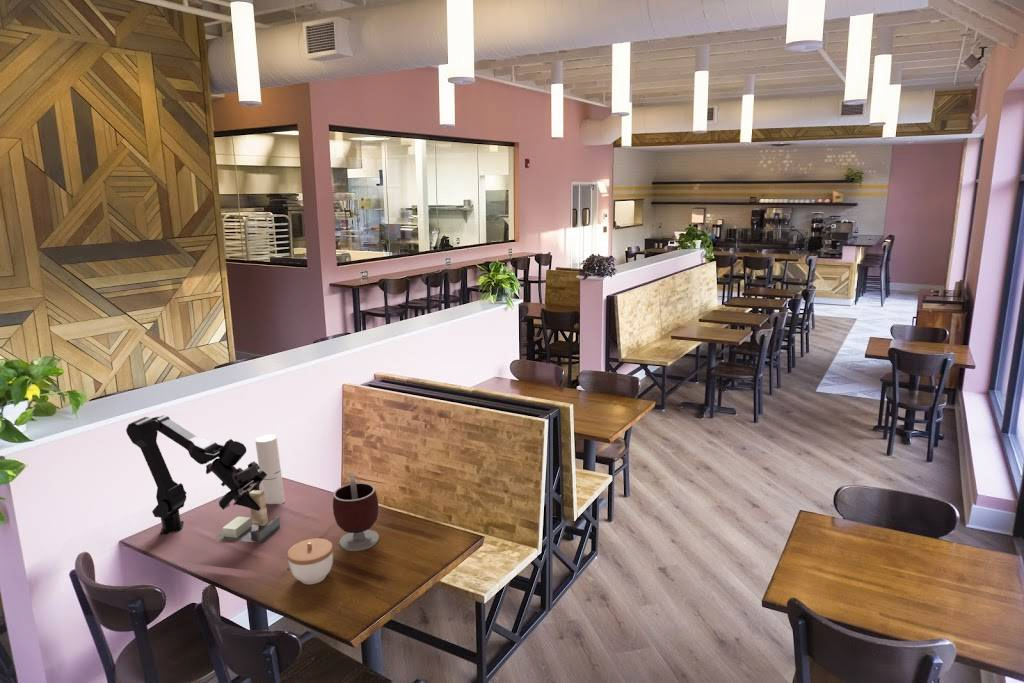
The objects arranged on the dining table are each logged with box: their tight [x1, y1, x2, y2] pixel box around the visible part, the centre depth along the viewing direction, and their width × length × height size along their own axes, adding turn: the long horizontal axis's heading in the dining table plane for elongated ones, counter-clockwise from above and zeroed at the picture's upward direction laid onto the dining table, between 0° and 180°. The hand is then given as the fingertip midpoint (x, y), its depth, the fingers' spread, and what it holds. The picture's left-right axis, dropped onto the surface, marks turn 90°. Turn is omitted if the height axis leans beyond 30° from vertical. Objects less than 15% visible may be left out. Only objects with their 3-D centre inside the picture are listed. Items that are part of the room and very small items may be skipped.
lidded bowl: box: [286, 537, 334, 585], centre depth 197 cm, size 13×13×11 cm
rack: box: [214, 516, 283, 544], centre depth 223 cm, size 18×11×5 cm, turn 75°
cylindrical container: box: [254, 434, 286, 505], centre depth 244 cm, size 7×7×25 cm
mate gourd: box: [332, 472, 380, 552], centre depth 216 cm, size 16×14×20 cm
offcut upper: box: [222, 515, 252, 534], centre depth 224 cm, size 5×8×2 cm, turn 165°
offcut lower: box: [222, 521, 253, 538], centre depth 224 cm, size 5×8×2 cm, turn 165°
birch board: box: [249, 489, 269, 526], centre depth 220 cm, size 4×2×11 cm, turn 75°
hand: (262, 507), depth 220 cm, fingers closed on birch board, 2 cm apart
